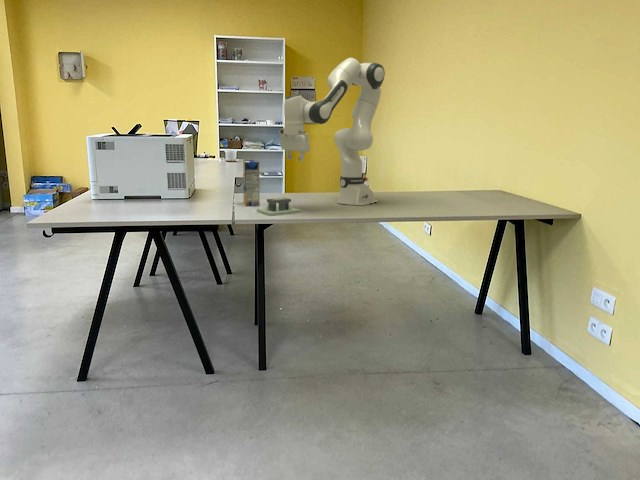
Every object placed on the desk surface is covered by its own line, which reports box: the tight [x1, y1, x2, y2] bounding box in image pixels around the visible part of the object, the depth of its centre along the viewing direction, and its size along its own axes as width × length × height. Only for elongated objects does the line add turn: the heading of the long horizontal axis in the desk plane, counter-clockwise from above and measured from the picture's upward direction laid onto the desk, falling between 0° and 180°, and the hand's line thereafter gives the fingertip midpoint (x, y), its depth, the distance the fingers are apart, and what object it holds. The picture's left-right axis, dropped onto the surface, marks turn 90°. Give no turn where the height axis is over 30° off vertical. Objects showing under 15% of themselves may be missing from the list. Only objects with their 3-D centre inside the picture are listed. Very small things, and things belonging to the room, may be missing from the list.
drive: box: [266, 197, 292, 211], centre depth 228 cm, size 10×6×5 cm, turn 127°
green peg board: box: [256, 201, 302, 217], centre depth 228 cm, size 17×12×5 cm
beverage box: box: [242, 159, 260, 207], centre depth 245 cm, size 7×11×22 cm, turn 14°
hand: (295, 160), depth 230 cm, fingers open, 8 cm apart
